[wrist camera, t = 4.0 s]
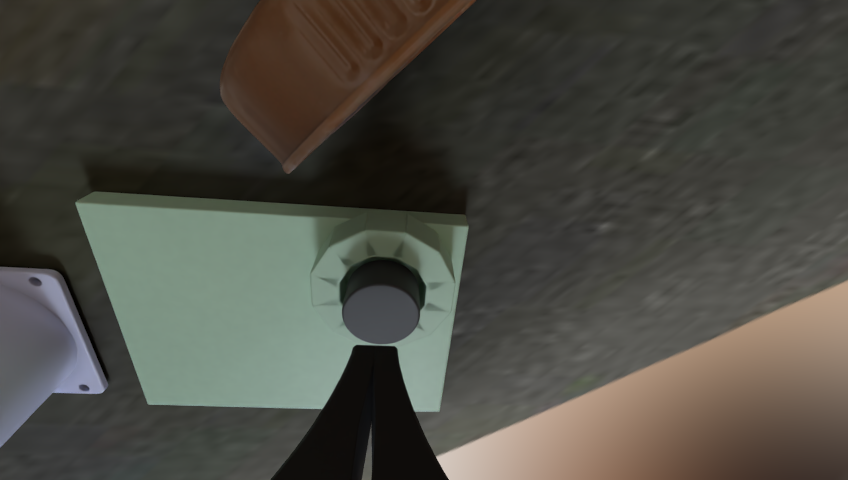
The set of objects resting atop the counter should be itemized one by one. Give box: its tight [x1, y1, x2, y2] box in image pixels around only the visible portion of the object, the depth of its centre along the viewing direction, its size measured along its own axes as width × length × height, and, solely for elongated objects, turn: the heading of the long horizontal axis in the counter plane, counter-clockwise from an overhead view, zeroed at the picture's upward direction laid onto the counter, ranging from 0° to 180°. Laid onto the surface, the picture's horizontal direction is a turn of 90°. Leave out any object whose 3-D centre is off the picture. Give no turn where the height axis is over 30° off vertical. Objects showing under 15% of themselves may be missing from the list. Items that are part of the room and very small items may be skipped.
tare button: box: [342, 260, 420, 344], centre depth 16 cm, size 3×3×2 cm
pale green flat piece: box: [75, 192, 469, 412], centre depth 19 cm, size 16×12×3 cm
